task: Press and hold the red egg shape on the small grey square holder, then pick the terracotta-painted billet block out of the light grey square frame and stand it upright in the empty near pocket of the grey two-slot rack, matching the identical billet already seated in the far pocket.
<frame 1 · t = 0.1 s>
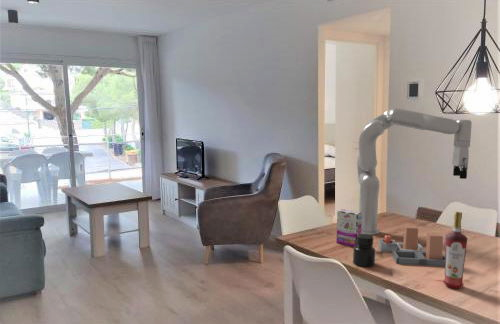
hand: (459, 177, 218), 31 cm above the table, tool pointing down, fingers open, 9 cm apart
liquor: (452, 286, 157), on the table
grey square holder: (387, 250, 197), on the table
billet: (409, 252, 196), resting in light grey square frame
ink bottle: (363, 264, 180), on the table
grey two-slot rack: (419, 262, 182), on the table
candy bar box: (348, 244, 206), on the table
red egg shape: (387, 240, 197), point 5 cm above the table, slide at 0.0 cm
light grey square frame: (409, 251, 196), on the table
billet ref: (433, 261, 181), point 1 cm above the table, touching grey two-slot rack
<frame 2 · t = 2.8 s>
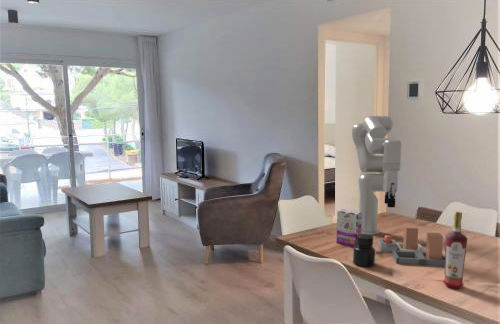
hand: (389, 205, 195), 22 cm above the table, tool pointing down, fingers open, 6 cm apart
nothing on the table moved.
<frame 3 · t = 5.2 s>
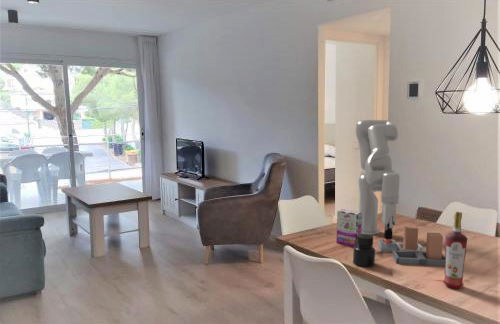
hand: (388, 238, 196), 6 cm above the table, tool pointing down, fingers closed
red egg shape: (387, 243, 197), point 4 cm above the table, slide at 1.0 cm, touching gripper
everything else where it was.
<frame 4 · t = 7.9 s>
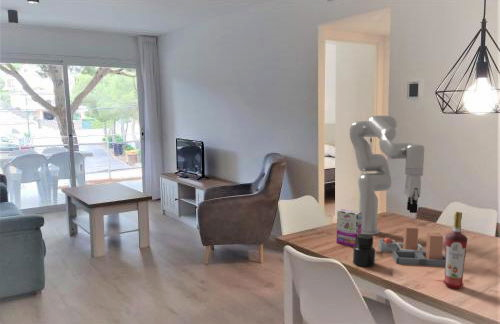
hand: (411, 211, 193), 19 cm above the table, tool pointing down, fingers open, 4 cm apart
red egg shape: (387, 243, 197), point 4 cm above the table, slide at 1.2 cm
everything else where it was.
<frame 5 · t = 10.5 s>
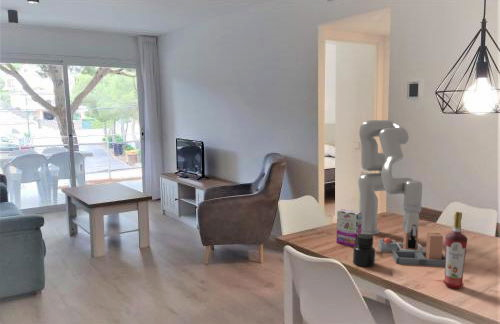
hand: (410, 245, 195), 3 cm above the table, tool pointing down, fingers closed on billet, 5 cm apart
billet: (409, 252, 196), resting in light grey square frame, touching gripper
everything else where it was.
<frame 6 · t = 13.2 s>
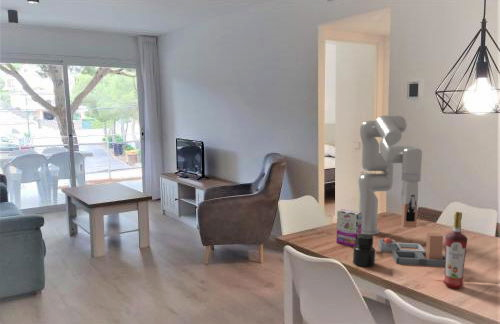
hand: (408, 219, 180), 19 cm above the table, tool pointing down, fingers closed on billet, 5 cm apart
billet: (408, 225, 181), point 16 cm above the table, touching gripper
everything else where it was.
when the fingers open (5 cm above the table, at t = 16.1 s): billet drops 1 cm, resting on grey two-slot rack.
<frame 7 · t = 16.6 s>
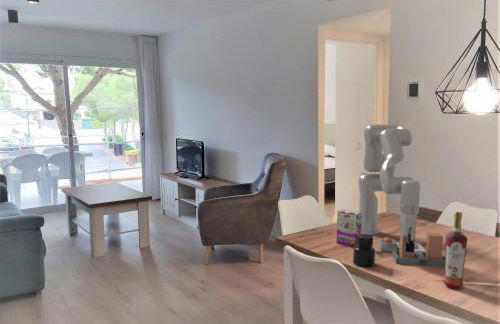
hand: (407, 248, 182), 6 cm above the table, tool pointing down, fingers open, 9 cm apart
billet: (406, 260, 183), point 1 cm above the table, touching grey two-slot rack
everything else where it was.
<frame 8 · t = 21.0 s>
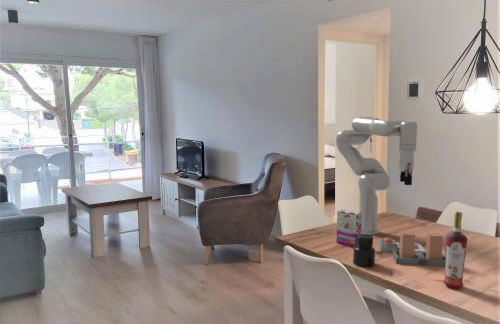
hand: (405, 183, 203), 30 cm above the table, tool pointing down, fingers open, 9 cm apart
nothing on the table moved.
at the end: billet 0.2 cm from the target spot on the grey two-slot rack, point 0.8 cm above the grey two-slot rack's base; billet tilted 0°; the gripper is holding nothing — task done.
